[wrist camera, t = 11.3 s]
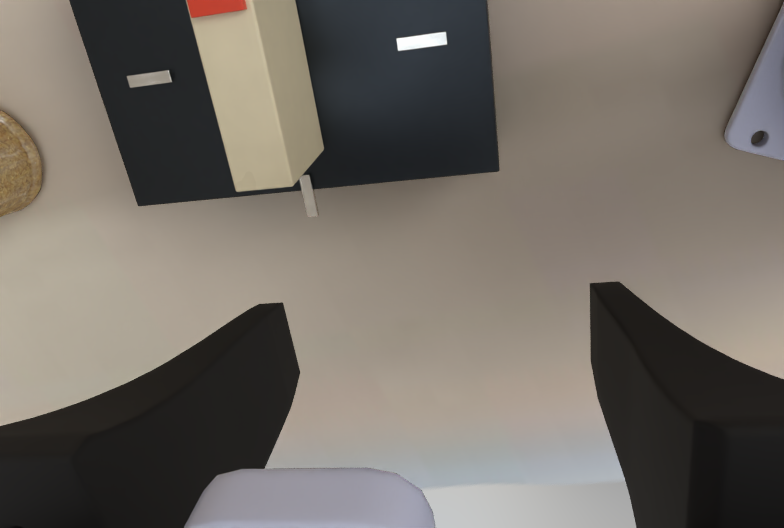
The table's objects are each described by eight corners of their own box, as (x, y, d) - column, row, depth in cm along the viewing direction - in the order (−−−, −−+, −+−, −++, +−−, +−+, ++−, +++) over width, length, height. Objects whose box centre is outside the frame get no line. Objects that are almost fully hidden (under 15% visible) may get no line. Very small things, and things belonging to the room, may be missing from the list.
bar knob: (325, 149, 19) (290, 190, 16) (275, 155, 19) (231, 196, 16) (286, -49, 17) (236, -51, 14) (231, -39, 17) (169, -39, 14)
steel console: (475, -157, 18) (473, -182, 15) (499, 164, 22) (501, 200, 19) (105, -86, 20) (33, -93, 17) (189, 195, 24) (143, 232, 21)
